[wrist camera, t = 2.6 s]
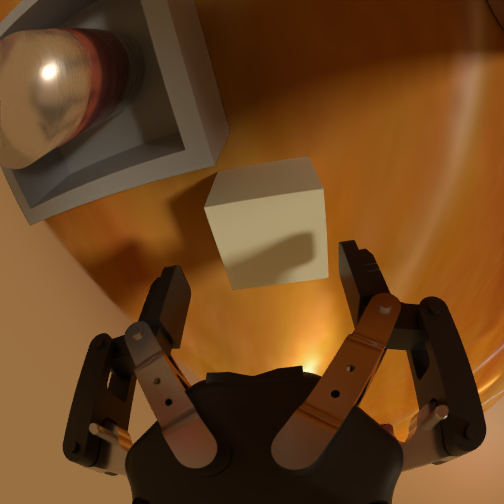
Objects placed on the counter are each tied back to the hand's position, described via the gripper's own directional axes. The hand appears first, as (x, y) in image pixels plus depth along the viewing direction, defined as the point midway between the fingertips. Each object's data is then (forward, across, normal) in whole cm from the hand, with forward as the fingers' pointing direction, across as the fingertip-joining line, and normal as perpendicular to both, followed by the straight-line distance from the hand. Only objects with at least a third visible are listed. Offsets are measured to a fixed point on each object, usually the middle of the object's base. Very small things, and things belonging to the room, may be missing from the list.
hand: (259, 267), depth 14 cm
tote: (+7, +7, -12) cm, 15 cm away
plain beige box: (+7, -1, 0) cm, 7 cm away
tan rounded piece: (+6, +7, -12) cm, 15 cm away
